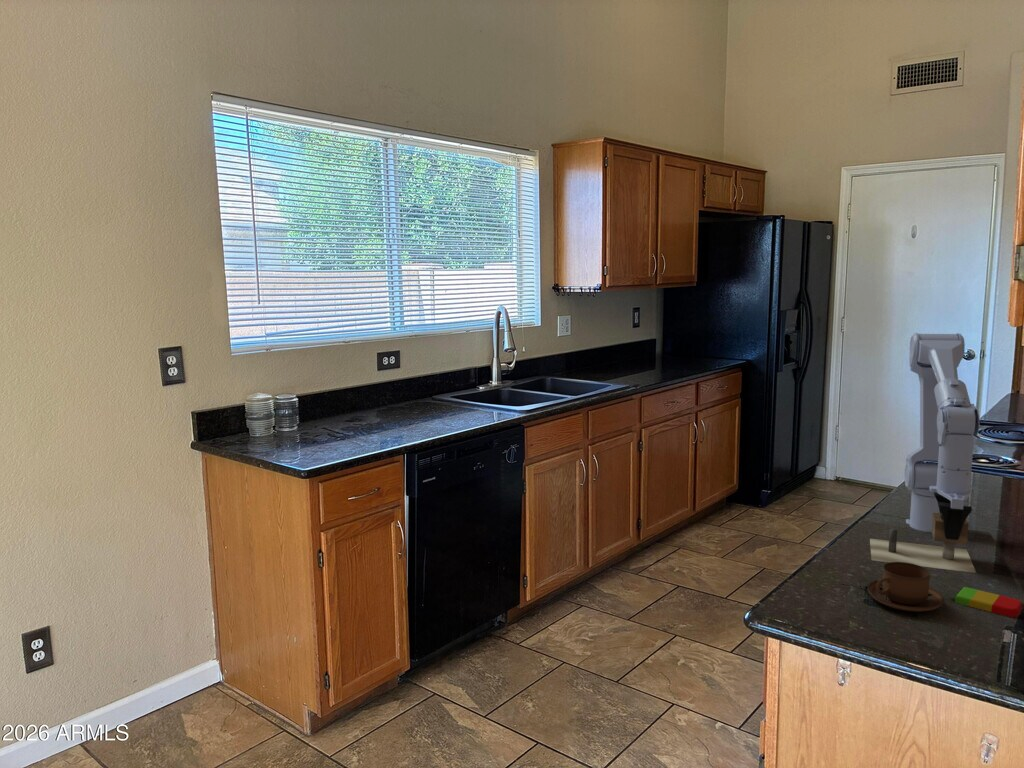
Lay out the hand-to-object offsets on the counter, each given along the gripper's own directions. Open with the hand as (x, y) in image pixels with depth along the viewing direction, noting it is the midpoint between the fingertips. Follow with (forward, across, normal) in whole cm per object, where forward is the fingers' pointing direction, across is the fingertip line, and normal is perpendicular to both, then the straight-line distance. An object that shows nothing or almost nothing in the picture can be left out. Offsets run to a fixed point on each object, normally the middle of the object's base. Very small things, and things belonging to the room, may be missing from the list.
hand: (949, 533), depth 151 cm
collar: (+1, 0, 0) cm, 1 cm away
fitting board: (+6, 0, -5) cm, 8 cm away
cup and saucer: (+6, +23, -9) cm, 25 cm away
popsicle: (+7, +18, +2) cm, 19 cm away
